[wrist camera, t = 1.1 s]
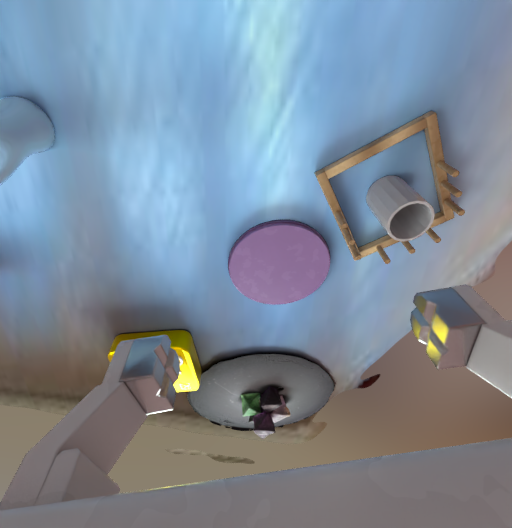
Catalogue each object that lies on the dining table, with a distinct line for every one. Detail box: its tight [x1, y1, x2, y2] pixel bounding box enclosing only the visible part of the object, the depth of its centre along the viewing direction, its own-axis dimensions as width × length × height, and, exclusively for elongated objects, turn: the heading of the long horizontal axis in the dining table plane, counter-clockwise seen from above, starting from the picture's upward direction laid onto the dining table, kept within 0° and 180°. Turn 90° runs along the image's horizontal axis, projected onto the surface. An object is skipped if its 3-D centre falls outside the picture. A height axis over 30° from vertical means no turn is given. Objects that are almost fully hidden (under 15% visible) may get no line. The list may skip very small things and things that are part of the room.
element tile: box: [108, 330, 201, 392], centre depth 60 cm, size 15×15×5 cm
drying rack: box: [315, 111, 465, 264], centre depth 40 cm, size 15×16×5 cm
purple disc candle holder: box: [228, 220, 330, 304], centre depth 48 cm, size 16×16×1 cm
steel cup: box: [366, 176, 435, 241], centre depth 39 cm, size 6×6×8 cm
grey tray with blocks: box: [187, 354, 335, 439], centre depth 70 cm, size 35×35×9 cm
